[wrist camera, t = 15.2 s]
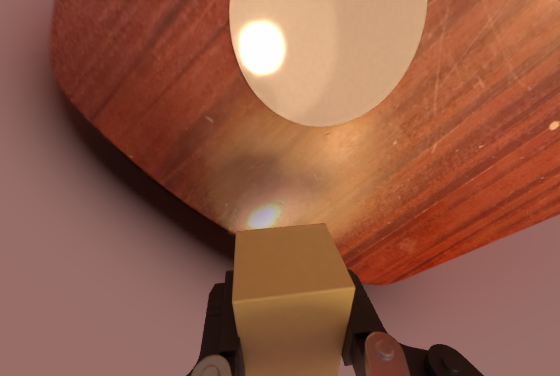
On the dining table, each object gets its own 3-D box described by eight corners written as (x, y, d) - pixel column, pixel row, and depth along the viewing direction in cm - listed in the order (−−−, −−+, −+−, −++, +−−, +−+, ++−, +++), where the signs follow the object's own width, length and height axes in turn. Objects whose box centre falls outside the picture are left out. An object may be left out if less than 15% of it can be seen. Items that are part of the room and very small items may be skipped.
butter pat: (246, 315, 13) (247, 392, 10) (235, 230, 10) (231, 302, 7) (317, 306, 14) (337, 378, 11) (325, 222, 11) (356, 287, 8)
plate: (240, 127, 20) (240, 131, 19) (216, -115, 14) (213, -129, 13) (395, 119, 22) (402, 122, 21) (441, -106, 15) (456, -118, 14)
